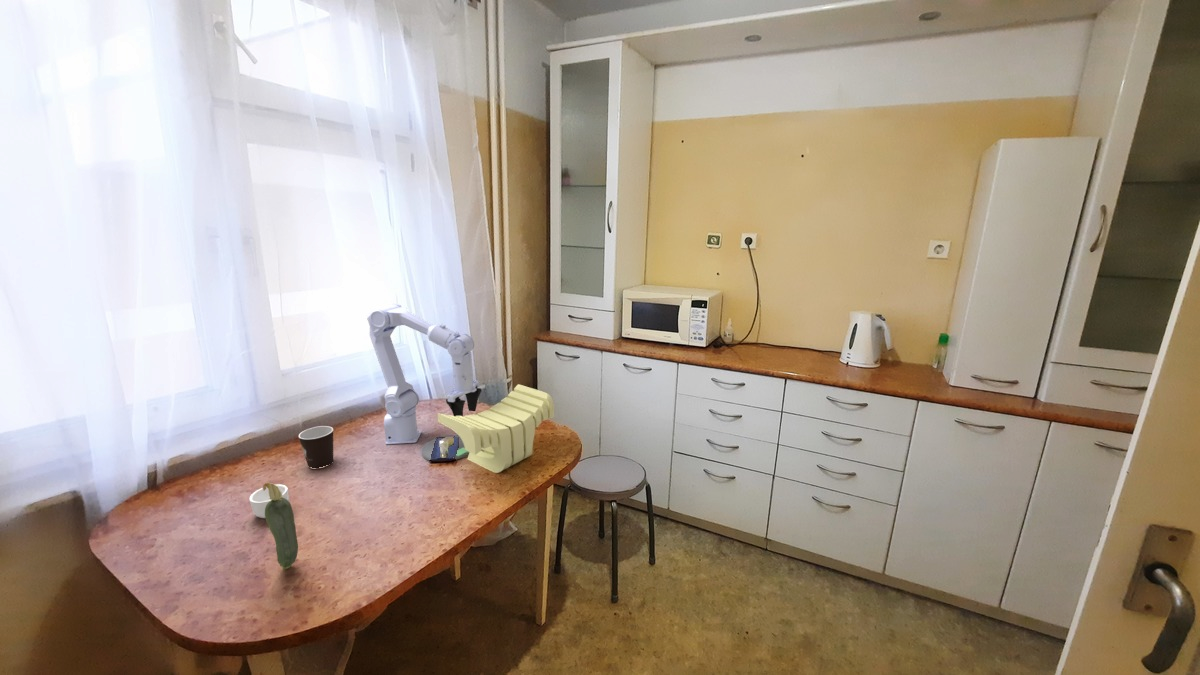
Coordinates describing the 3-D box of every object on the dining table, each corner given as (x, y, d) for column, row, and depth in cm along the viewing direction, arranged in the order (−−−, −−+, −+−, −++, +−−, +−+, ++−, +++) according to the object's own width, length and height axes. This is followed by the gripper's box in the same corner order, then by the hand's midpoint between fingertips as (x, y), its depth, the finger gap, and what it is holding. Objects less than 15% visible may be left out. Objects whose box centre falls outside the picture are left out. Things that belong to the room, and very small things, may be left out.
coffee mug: (335, 468, 132) (330, 436, 130) (300, 473, 129) (295, 441, 126) (341, 449, 142) (336, 420, 140) (309, 454, 139) (304, 424, 137)
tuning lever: (443, 442, 144) (442, 428, 143) (455, 442, 145) (454, 427, 144) (437, 458, 135) (436, 443, 133) (450, 457, 135) (449, 442, 134)
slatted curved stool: (477, 490, 122) (473, 428, 117) (442, 470, 131) (437, 412, 127) (554, 447, 145) (553, 395, 140) (520, 433, 154) (518, 384, 150)
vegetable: (306, 561, 96) (291, 475, 91) (294, 576, 91) (277, 488, 87) (285, 561, 96) (268, 476, 91) (271, 577, 91) (253, 488, 86)
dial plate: (416, 464, 134) (415, 460, 134) (427, 439, 150) (427, 436, 149) (472, 460, 137) (471, 456, 136) (477, 436, 152) (477, 433, 152)
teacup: (294, 513, 112) (291, 493, 110) (256, 527, 106) (251, 506, 105) (285, 496, 118) (282, 477, 117) (249, 508, 113) (245, 489, 112)
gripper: (461, 383, 133) (463, 426, 136) (486, 368, 146) (488, 408, 150) (440, 380, 135) (443, 423, 138) (467, 366, 148) (469, 405, 151)
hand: (465, 415), depth 144 cm, fingers open, 7 cm apart
